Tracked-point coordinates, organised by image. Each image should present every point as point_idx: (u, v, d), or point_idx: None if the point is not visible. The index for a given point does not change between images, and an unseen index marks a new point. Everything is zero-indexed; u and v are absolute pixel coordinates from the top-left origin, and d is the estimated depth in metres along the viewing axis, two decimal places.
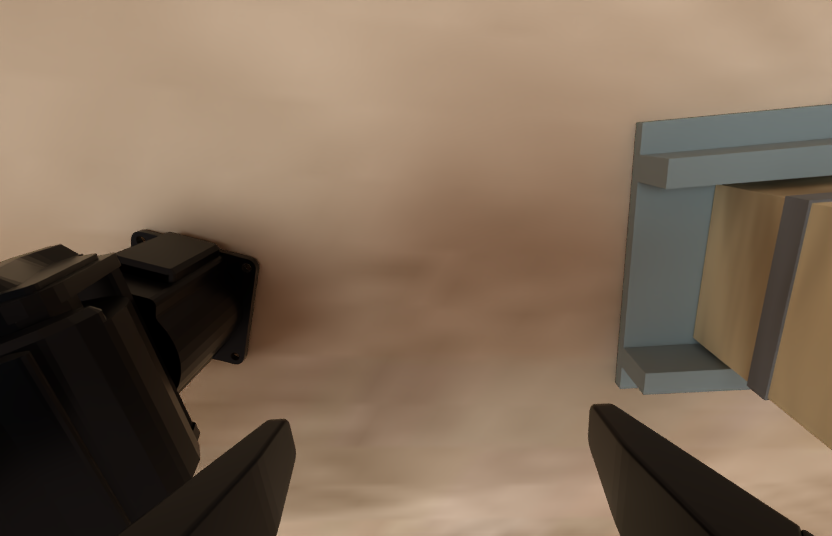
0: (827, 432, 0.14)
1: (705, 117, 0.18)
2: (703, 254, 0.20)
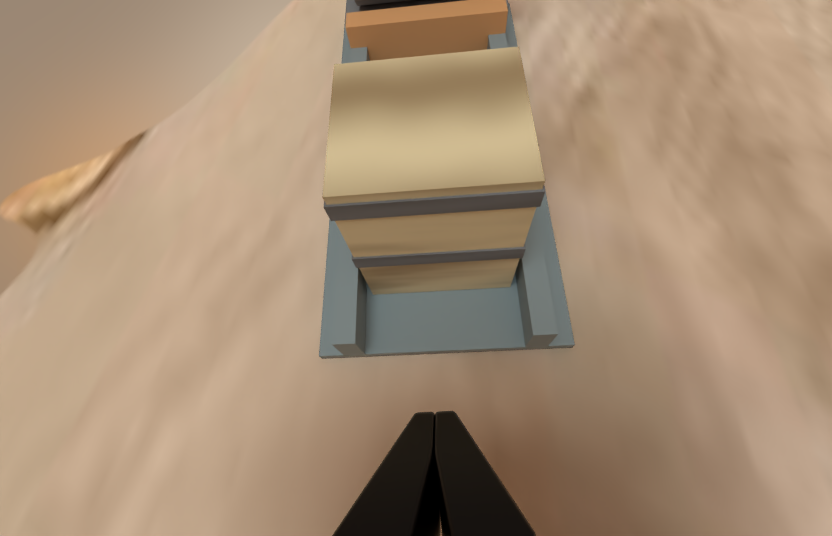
0: (520, 218, 0.16)
1: (323, 310, 0.24)
2: (431, 292, 0.24)
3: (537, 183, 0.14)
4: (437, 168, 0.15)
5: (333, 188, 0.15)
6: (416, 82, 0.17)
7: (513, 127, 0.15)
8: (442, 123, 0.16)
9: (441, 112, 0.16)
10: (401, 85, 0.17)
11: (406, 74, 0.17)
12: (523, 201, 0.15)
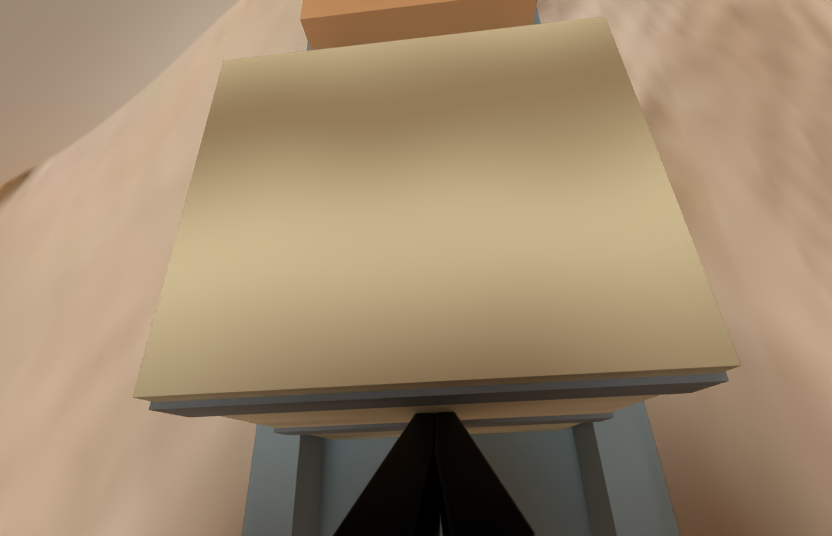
0: (626, 397, 0.07)
1: (251, 472, 0.14)
2: None
3: (714, 368, 0.05)
4: (435, 315, 0.06)
5: (165, 369, 0.06)
6: (388, 94, 0.08)
7: (622, 200, 0.06)
8: (447, 190, 0.07)
9: (443, 162, 0.07)
10: (355, 101, 0.08)
11: (367, 78, 0.08)
12: (655, 390, 0.06)
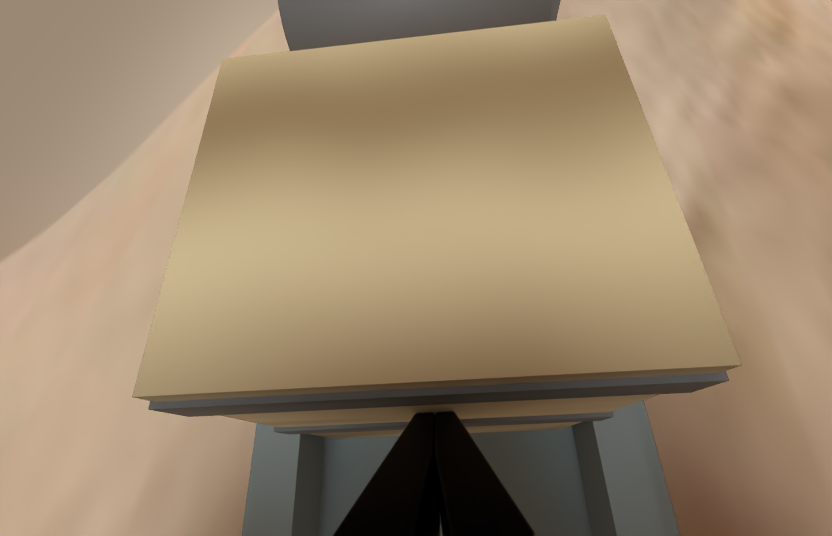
0: (627, 397, 0.07)
1: None
2: None
3: (715, 367, 0.05)
4: (435, 315, 0.06)
5: (165, 369, 0.06)
6: (387, 93, 0.08)
7: (622, 200, 0.06)
8: (447, 189, 0.07)
9: (443, 161, 0.07)
10: (355, 100, 0.08)
11: (367, 76, 0.08)
12: (656, 389, 0.06)
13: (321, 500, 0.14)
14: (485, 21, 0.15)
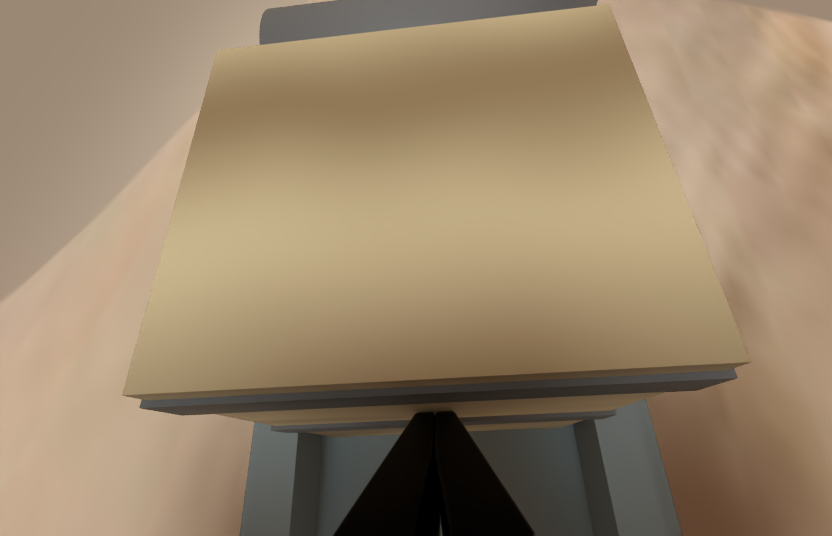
0: (630, 395, 0.07)
1: None
2: None
3: (723, 364, 0.05)
4: (434, 311, 0.06)
5: (156, 366, 0.06)
6: (386, 84, 0.08)
7: (627, 192, 0.06)
8: (446, 182, 0.06)
9: (443, 153, 0.07)
10: (352, 91, 0.08)
11: (364, 67, 0.08)
12: (661, 387, 0.06)
13: None
14: None
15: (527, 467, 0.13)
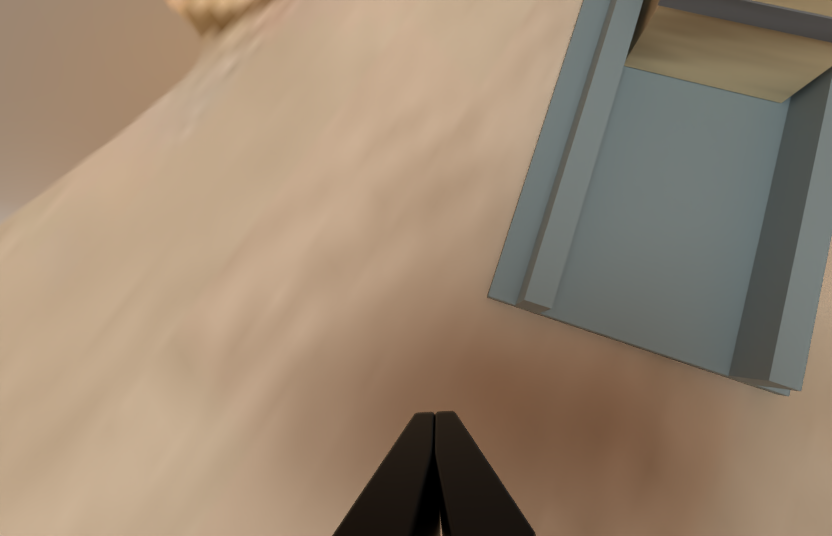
0: None
1: (504, 246, 0.20)
2: (636, 271, 0.20)
3: None
4: None
5: None
6: None
7: None
8: None
9: None
10: None
11: None
12: None
13: None
14: None
15: (747, 117, 0.21)
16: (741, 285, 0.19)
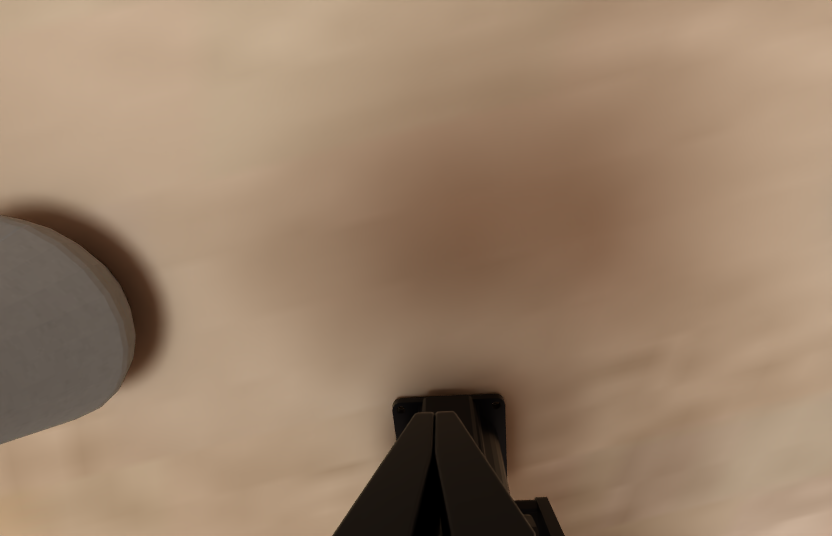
0: None
1: None
2: None
3: None
4: None
5: None
6: None
7: None
8: None
9: None
10: None
11: None
12: None
13: None
14: None
15: None
16: None
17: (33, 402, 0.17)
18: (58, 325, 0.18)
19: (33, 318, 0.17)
